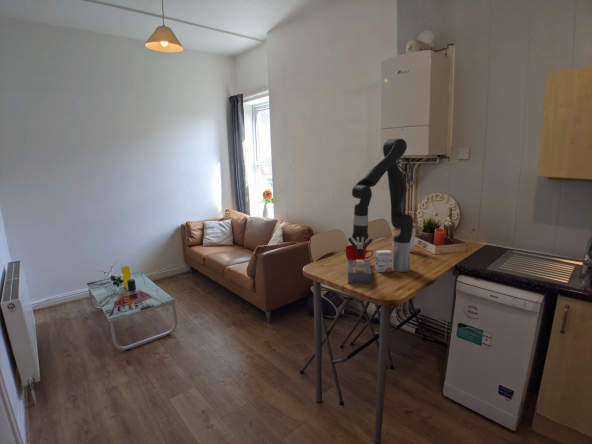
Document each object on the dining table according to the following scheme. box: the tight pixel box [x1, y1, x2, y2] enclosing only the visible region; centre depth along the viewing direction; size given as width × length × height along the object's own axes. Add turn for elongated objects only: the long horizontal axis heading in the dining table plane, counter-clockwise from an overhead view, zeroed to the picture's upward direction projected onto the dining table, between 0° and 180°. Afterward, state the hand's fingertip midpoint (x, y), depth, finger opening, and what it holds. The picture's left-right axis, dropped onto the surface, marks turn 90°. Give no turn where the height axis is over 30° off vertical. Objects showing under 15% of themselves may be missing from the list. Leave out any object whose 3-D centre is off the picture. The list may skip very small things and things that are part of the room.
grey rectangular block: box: [356, 259, 365, 271], centre depth 176 cm, size 4×4×6 cm
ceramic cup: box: [344, 244, 374, 262], centre depth 203 cm, size 13×17×10 cm
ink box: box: [374, 249, 393, 273], centre depth 190 cm, size 8×5×12 cm, turn 96°
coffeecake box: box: [391, 223, 416, 253], centre depth 230 cm, size 15×7×20 cm, turn 25°
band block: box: [347, 259, 372, 285], centre depth 183 cm, size 22×12×6 cm, turn 170°
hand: (359, 255), depth 174 cm, fingers closed
